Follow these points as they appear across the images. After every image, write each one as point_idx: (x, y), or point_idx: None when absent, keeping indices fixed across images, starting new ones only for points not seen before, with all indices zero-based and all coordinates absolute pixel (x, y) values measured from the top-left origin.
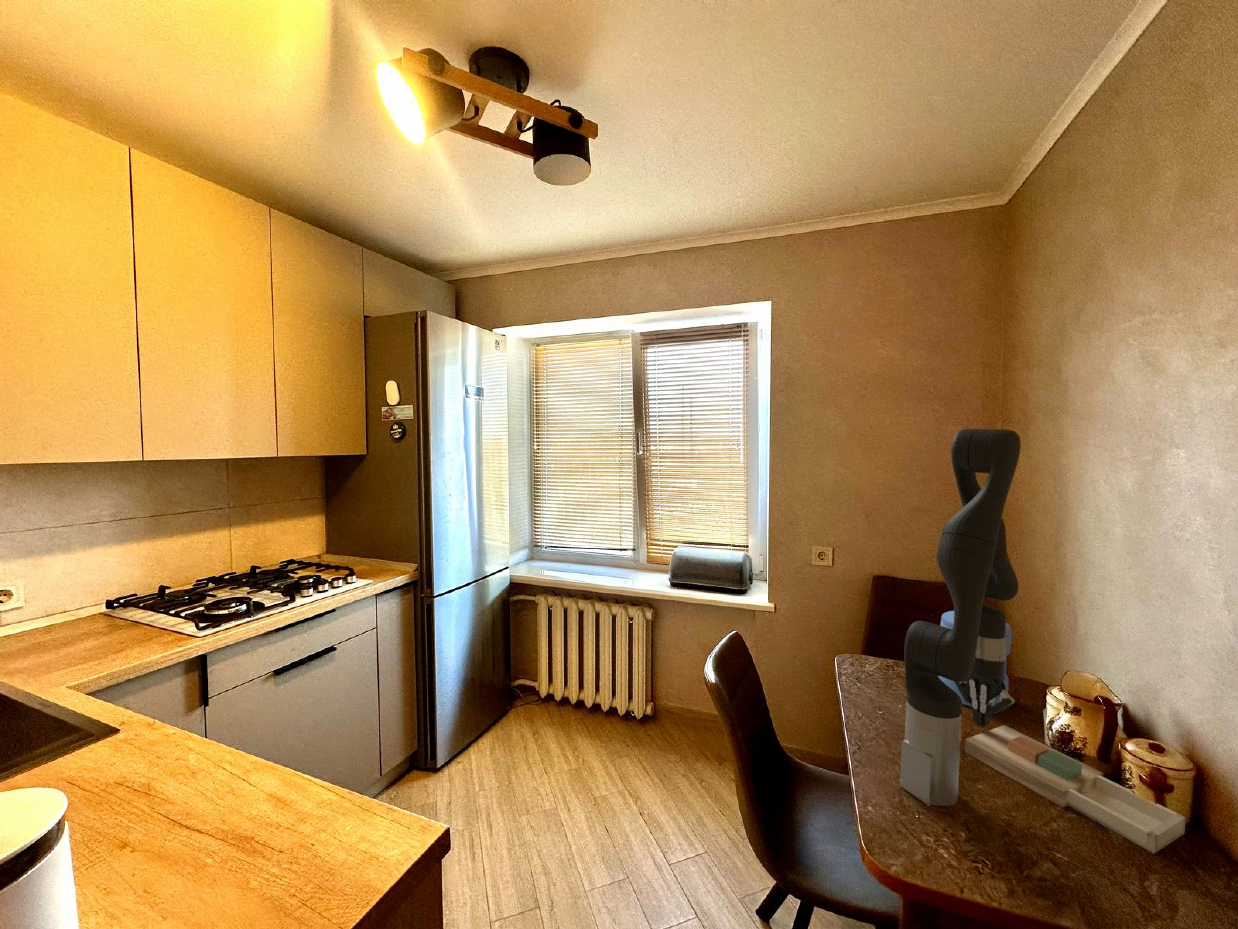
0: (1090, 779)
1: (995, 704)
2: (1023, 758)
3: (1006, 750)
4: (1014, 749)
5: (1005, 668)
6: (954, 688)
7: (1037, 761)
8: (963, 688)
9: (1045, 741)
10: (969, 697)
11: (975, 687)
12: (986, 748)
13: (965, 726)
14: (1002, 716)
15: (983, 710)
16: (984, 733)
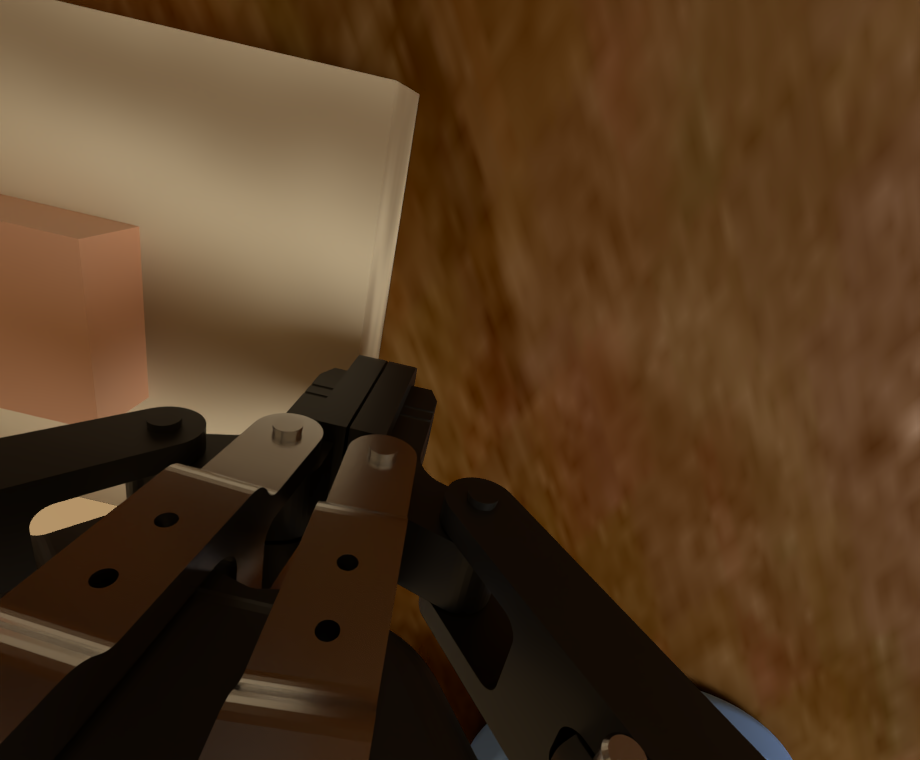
0: None
1: (485, 750)
2: (20, 191)
3: (134, 203)
4: (65, 219)
5: None
6: None
7: None
8: (549, 648)
9: None
10: (456, 546)
11: (231, 703)
12: (220, 77)
13: (542, 462)
14: (447, 688)
15: (272, 426)
16: (347, 336)
